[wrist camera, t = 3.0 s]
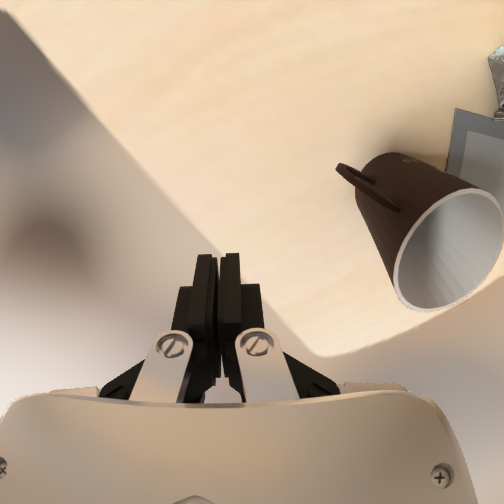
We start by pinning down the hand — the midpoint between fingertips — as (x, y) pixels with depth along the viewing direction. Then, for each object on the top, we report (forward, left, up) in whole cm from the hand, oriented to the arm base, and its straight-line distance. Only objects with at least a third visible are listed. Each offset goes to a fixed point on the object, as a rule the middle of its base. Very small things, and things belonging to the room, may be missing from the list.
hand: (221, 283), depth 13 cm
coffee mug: (-1, +12, -12) cm, 17 cm away
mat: (-1, +25, -12) cm, 28 cm away
